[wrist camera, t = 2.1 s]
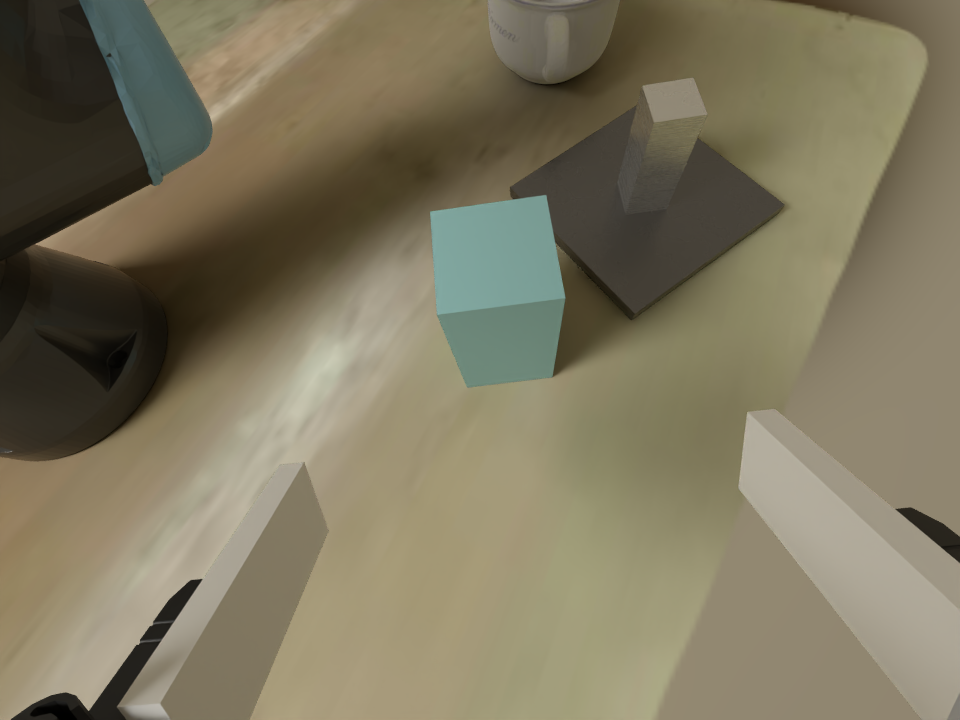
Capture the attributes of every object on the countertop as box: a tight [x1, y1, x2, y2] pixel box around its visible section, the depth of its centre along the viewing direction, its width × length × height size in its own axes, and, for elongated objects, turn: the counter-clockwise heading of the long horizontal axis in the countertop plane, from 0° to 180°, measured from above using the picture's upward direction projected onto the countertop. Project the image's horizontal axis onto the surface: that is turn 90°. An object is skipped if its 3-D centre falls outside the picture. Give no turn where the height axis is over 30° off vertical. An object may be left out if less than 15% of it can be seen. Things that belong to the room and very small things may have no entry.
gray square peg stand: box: [510, 78, 784, 320], centre depth 30 cm, size 14×14×9 cm
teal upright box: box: [430, 195, 565, 387], centre depth 26 cm, size 6×6×11 cm
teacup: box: [488, 0, 620, 84], centre depth 37 cm, size 14×11×8 cm
